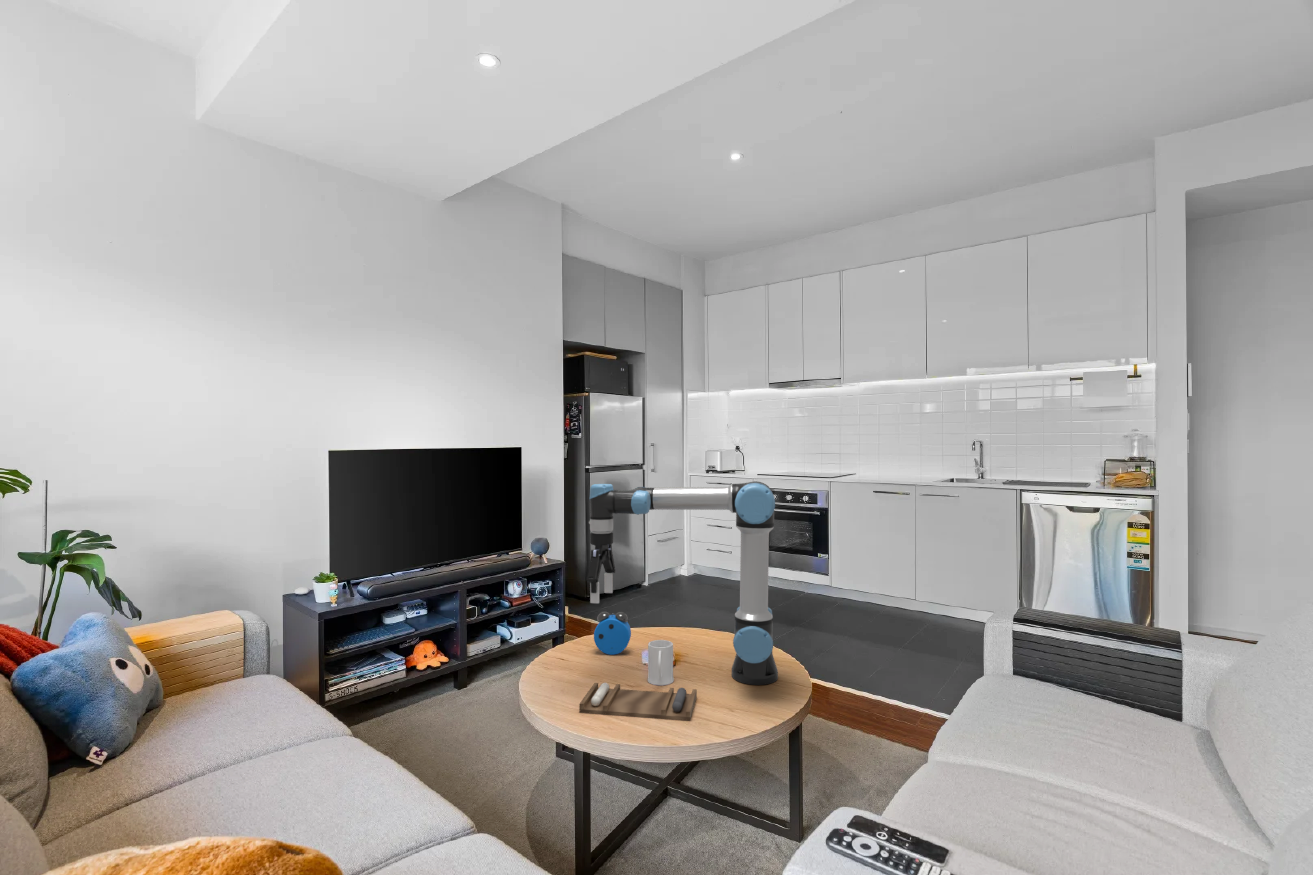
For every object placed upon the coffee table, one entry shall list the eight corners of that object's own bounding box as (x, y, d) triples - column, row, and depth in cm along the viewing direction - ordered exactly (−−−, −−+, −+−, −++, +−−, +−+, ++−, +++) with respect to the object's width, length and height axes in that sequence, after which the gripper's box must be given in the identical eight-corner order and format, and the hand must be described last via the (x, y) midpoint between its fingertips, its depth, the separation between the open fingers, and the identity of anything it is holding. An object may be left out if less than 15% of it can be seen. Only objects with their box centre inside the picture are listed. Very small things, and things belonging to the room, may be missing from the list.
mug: (670, 690, 195) (670, 651, 195) (643, 688, 196) (643, 650, 196) (675, 676, 207) (675, 639, 207) (649, 674, 208) (649, 638, 208)
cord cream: (610, 690, 192) (610, 681, 192) (599, 707, 180) (599, 698, 180) (601, 689, 193) (601, 680, 193) (590, 707, 180) (589, 697, 180)
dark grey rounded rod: (687, 695, 188) (687, 686, 188) (681, 713, 176) (681, 703, 176) (677, 695, 189) (677, 685, 189) (671, 713, 176) (671, 703, 176)
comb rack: (696, 697, 189) (696, 689, 189) (690, 720, 173) (690, 711, 173) (594, 690, 195) (594, 682, 195) (579, 712, 179) (579, 703, 179)
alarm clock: (631, 650, 232) (631, 610, 232) (629, 656, 226) (628, 614, 226) (596, 649, 233) (596, 609, 234) (593, 655, 227) (593, 614, 227)
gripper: (603, 526, 215) (603, 588, 215) (576, 537, 191) (576, 606, 190) (623, 527, 213) (624, 589, 213) (599, 537, 189) (600, 608, 189)
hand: (601, 597), depth 202 cm, fingers open, 13 cm apart
